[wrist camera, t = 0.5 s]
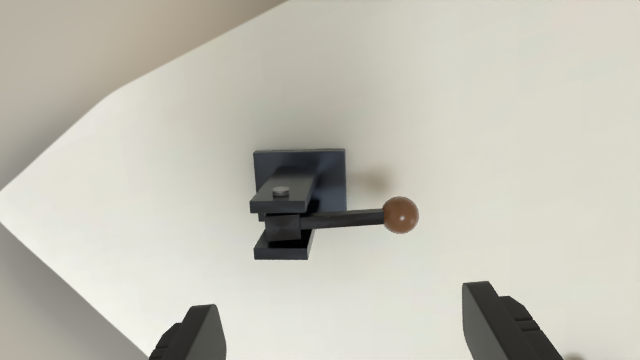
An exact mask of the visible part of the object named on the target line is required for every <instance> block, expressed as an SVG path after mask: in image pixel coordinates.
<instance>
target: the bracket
mask: <svg viewBox="0 0 640 360" xmlns="http://www.w3.org/2000/svg"><path fill="white" fill-rule="evenodd" d="M253 157H254V169H255V181H256V195H255V196H254V197H253V198H252V199H251V201H250V212H251V213H258V217H259V222H265V213H299V214H306V213H321V212H337V211H347V208H346V163H345V149H317V150H272V151H255V152H254V153H253ZM315 230H316V229H305V230H300V234H301V239H298V240H284V241H270V242H267V241H266V229H265V230H264V232H263V233H262V235H261V237H260V239H259V240H258V242H257V244H256V245H255V247H254V259H255V260H308V257H309V253H310V249H311V245H312V241H313V237H314V233H315Z"/></svg>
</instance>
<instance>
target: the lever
mask: <svg viewBox="0 0 640 360" xmlns="http://www.w3.org/2000/svg"><path fill="white" fill-rule="evenodd" d="M418 219H419V212H418V209H417V206H416V205H415V204H414V202H413V201H411V200H410V199H408V198H406V197H393V198H391V199H389V200H388V201H387V202H386V203H385V204H384V205H383V207H382V209H367V210H352V211H337V212H321V213H306V214H299V213H265V229H266V241H267V242H270V241H284V240H298V239H301V234H300V230H305V229H320V228H335V227H349V226H364V225H378V224H384V226H385V227H386V228H387V229H388V230H389V231H391V232H393V233H396V234H404V233H407V232H409V231H411V230H412V229H414V227H415V226H416V225H417V223H418Z"/></svg>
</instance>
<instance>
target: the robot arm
mask: <svg viewBox="0 0 640 360" xmlns="http://www.w3.org/2000/svg"><path fill="white" fill-rule="evenodd" d="M462 315H463V331H464V336H465V340H466V343H467V346H468V348H469V350H470V352H471V355H472V357H473V359H474V360H563V358H562V357H561V356H560V354H559V353H558V352H557V350H556V349H555V347H554V346H553V345H552V343H551V342H550V341H549V339H548V338H547V337H546V335H545V334H544V333H543V331H542V330H540V327H539V326H538V324H537V323H536V322H535V320H533V318H532V316H531V315H530V314H529V312H528V311H527V310H526V308H525V307H524V306H523V305H522V304H520V303H519V302H517V301H516V300H514V299H513V298H511V297H510V296H501V297H499V296H498V294H497V293H496V291H495V290H494V288H493V287H492V285H491V284H490V283H489V282H488V281H481V282H470V283H463V285H462ZM149 360H226V341H225V337H224V333H223V329H222V324H221V320H220V316H219V312H218V308H217V306H216V305H215V304H210V305H198V306H192V307H190V309H189V311H188V312H187V314H186V316H185V318H184V319H183V321H182V323H175V324H174V325H173V326H172V327H171V328H170V329H169V330H167V331H166V332H165V333H164V334H163V335H162V337H161V339H160V340H159V342H158V344H157V345H156V349H154V350H153V352H152V353H151V355H150V357H149Z"/></svg>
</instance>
